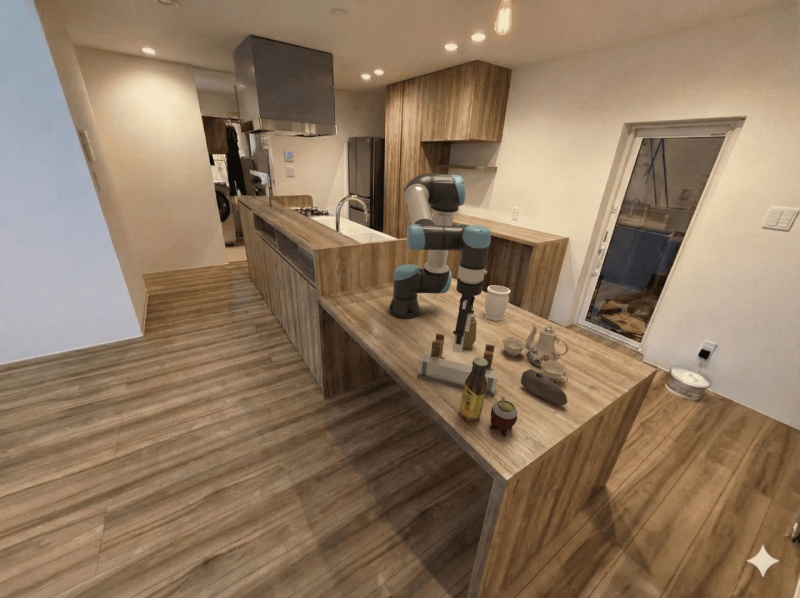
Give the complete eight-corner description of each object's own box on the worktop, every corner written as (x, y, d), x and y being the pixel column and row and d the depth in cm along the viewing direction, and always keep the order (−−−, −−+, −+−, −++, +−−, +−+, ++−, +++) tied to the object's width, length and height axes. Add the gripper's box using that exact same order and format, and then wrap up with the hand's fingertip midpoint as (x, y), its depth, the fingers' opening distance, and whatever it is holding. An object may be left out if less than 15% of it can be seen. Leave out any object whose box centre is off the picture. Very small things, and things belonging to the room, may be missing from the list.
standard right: (476, 378, 112) (481, 352, 108) (479, 367, 118) (483, 342, 114) (491, 382, 111) (496, 356, 106) (492, 371, 117) (497, 345, 112)
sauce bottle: (457, 407, 99) (465, 353, 91) (476, 407, 99) (486, 353, 91) (462, 424, 93) (472, 367, 85) (483, 423, 93) (495, 366, 85)
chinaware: (492, 355, 129) (496, 320, 122) (518, 340, 138) (523, 306, 130) (558, 395, 109) (568, 355, 101) (584, 374, 117) (594, 336, 110)
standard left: (426, 366, 117) (429, 341, 113) (431, 356, 123) (434, 332, 119) (440, 369, 116) (443, 344, 112) (444, 359, 122) (447, 335, 118)
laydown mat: (417, 377, 111) (417, 375, 111) (421, 368, 116) (421, 366, 116) (493, 397, 104) (494, 395, 104) (495, 386, 109) (495, 385, 108)
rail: (418, 374, 112) (419, 360, 109) (421, 368, 115) (422, 354, 113) (494, 394, 104) (497, 379, 102) (495, 386, 108) (498, 372, 105)
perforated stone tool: (568, 406, 102) (574, 388, 99) (560, 413, 99) (566, 395, 96) (526, 381, 112) (530, 365, 109) (517, 387, 109) (521, 370, 106)
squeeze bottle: (475, 342, 134) (482, 303, 127) (473, 352, 127) (479, 311, 120) (456, 338, 137) (461, 300, 129) (453, 348, 130) (458, 308, 122)
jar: (502, 313, 161) (508, 285, 155) (506, 323, 152) (512, 294, 146) (481, 311, 162) (485, 284, 156) (484, 321, 153) (489, 292, 147)
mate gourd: (508, 418, 95) (518, 377, 89) (518, 440, 88) (529, 397, 82) (483, 418, 95) (492, 377, 89) (491, 440, 88) (501, 397, 82)
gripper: (477, 297, 83) (466, 364, 92) (487, 268, 105) (477, 325, 113) (449, 292, 85) (441, 358, 94) (464, 265, 107) (456, 321, 116)
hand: (461, 340), depth 104 cm, fingers open, 13 cm apart
